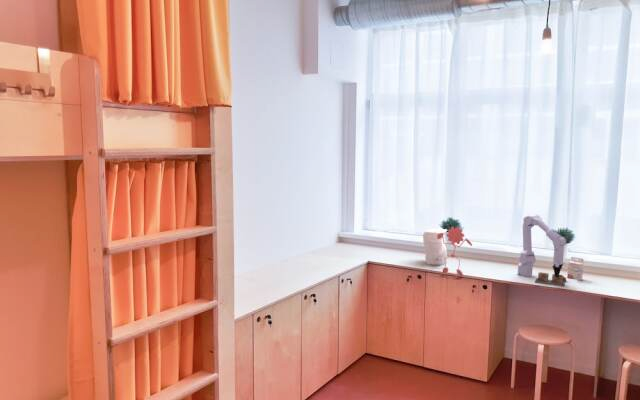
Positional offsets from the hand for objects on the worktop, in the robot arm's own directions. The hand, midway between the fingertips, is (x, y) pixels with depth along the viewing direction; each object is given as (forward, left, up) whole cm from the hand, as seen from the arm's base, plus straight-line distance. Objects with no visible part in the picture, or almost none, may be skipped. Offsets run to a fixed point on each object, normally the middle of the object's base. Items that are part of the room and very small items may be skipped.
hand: (557, 275), depth 322 cm
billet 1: (-8, 0, -6) cm, 10 cm away
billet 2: (0, 0, -6) cm, 6 cm away
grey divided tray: (-4, 0, -7) cm, 8 cm away
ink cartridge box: (+10, +26, -7) cm, 29 cm away
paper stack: (-89, +18, -7) cm, 91 cm away
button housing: (+2, +10, -7) cm, 13 cm away
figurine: (-65, -11, -7) cm, 66 cm away
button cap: (+2, +10, -5) cm, 12 cm away
